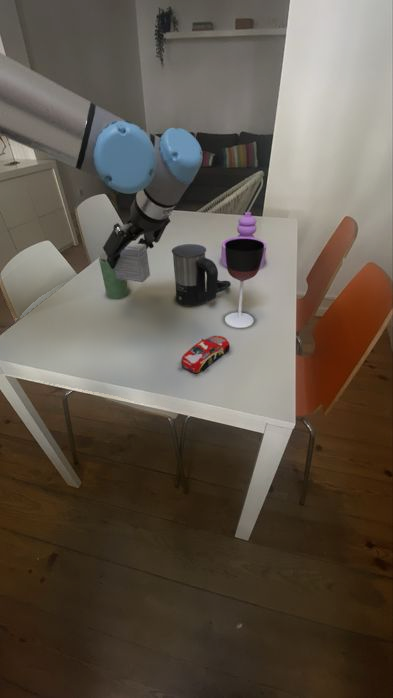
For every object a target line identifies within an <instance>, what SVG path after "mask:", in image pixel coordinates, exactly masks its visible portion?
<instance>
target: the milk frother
mask: <svg viewBox="0 0 393 698" xmlns="http://www.w3.org/2000/svg"><path fill="white" fill-rule="evenodd" d="M206 252H207V248H206V246H204V245H201V244H196V243H185V244H180V245H179V244H178V245H177V246H174V247H173V248H171V253H172V259H173V261H172V262H173V270H174V271H173V272H174V283H175V299H174V300H175V302H176V303H177V304H179V305H180V306H183V307H184V306H185V307H196V306H200V305H203V304H204V303H206V301H207V302H212V301H214V300H215V299H216V298H217V294H218V293H221V292H223V291H225V290H227V289H228V288H230V287H231V285H232V284H231V283H232V282H231V281H229V280H219V271H218V267H217V265H216V264H215V262H214V261H212V259H210V258H207V257H206Z"/></svg>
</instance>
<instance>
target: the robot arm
mask: <svg viewBox="0 0 393 698" xmlns="http://www.w3.org/2000/svg"><path fill="white" fill-rule="evenodd" d="M0 136H2V137H3V138H6V139H8V140H11V141H13V142H16V143H18V144H20V145H22V146H25V147H27V148H29V149H32V150H34V151H36V152H39V153H41V154H43V155H46V156H48V157H49V158H52V159H55V160H57V161H59V162H62V163H64V164H66V165H69V166H71V167H73V168H75V169H77V170H80V171H81V172H83V173H85V174H88V175H90V176H92V177H95V178H97V179H99V180H101V181H102V183H104V184H105V185H107V186H108V187H109V188H111V189H112V190H114V191H116V192H118V193H122V194H128V195H129V194H130V195H131V194H135V197H134V199H133V202H132V204H131V206H130V217H129V219H127V220H126V222H125V224H123V225H120V223H114V224H113V229H112V231H111V233H110V234H109V236H108V238H107V240H106V241H105V243H104V245H103V246H102V249H103V252H104V253H106V255H107V257H108V258H107V262H108V263H109V265H110V267H111V269H113V268H115V266H116V264H117V262H118V260H119V258H120V253H121V252H122V251H123V250H124V249H125V248H126V247H127V246H128V245H129V244H130V243H132V242H135V241H137V239H139V238H140V236H143V237H141V238H140V239H139V240H138V242H137V243H138V244H145V245H146V249H147V250H148V248H149V249H153V248H154V247H155V246H154V244H153V243H159V242H160V240H161V237H162V236H163V234H164V231H165V229H166V228H167V226H168V225H169V224H170V222H171V219H170V218H169V217H170V216H171V215H172V212H173V211H174V209H175V208H176V206H177V204H178V203H179V201H180V200H181V198H182V196H183V195H184V193H186V191H187V189H188V188H189V186H190V185H191V184H192V183H193V182H194V180H195V177H196V176H197V174H198V172H199V170H200V167H201V166H202V163H203V159H204V157H203V151H202V147H201V145H200V143H199V141H198V140H197V139H196V137H195V136H194V135H193V134H192V133H191V132H189V131H188V130H186V129H183V128H181V127H178V128H175V127H170V128H168V129H167V130H165V131H164V133H163V134H162V135H161V136H160V137H159V136H158V135H155V134H152V133H150V132H147V131H145V130H144V129H143V128H142V127H141V126H138V125H137V124H135V123H133V122H131V121H128V120H125V119H123V118H121V117H119V116H118V115H116V114H114V113H112V112H110V111H108V110H106V109H105V108H103V107H101V106H98V105H97V104H94V103H93V102H91V101H90V100H88V99H86V98H84V97H83V96H81V95H79V94H77V93H75V92H73V91H71V90H70V89H68V88H66V87H64V86H63V85H60V84H58V83H57V82H55V81H54V80H51V79H50V78H47V77H46V76H44V75H42V74H40V73H38V72H37V71H35V70H33V69H31V68H29V67H28V66H26V65H24V64H22V63H20V62H19V61H16V60H14V59H13V58H11V57H10V56H7V55H6V54H4V53H1V52H0Z"/></svg>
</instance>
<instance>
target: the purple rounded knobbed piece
mask: <svg viewBox="0 0 393 698" xmlns="http://www.w3.org/2000/svg"><path fill="white" fill-rule="evenodd" d="M237 223H238V225H237V227H236V231H237V233H238V235H237V236H235V237H230V238H226V239H224V240H223V241H222V242H221V251H220V252H221V253H220V254H221V258H220V263H221V265H222V266H223V267H225V268H227V264H226V254H225V244H226V243H227V242H228V241H231V240H235V239H253V240H258V241H260V242H262V243H263V244H264V251H263V257H262V261H261V264H260V267H259V269H261V268H262V267H264V265H265V261H266V253H267V252H266V251H267V243H266V242H265V241H264V240H262V239H260V238H256V237H255V235H254V234H256V232H257V225H256V224H257V218H256V217H254V216H253V215H252V212H251V211H245V212H244V215H242V216H240V217H239V218H238V220H237Z"/></svg>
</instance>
